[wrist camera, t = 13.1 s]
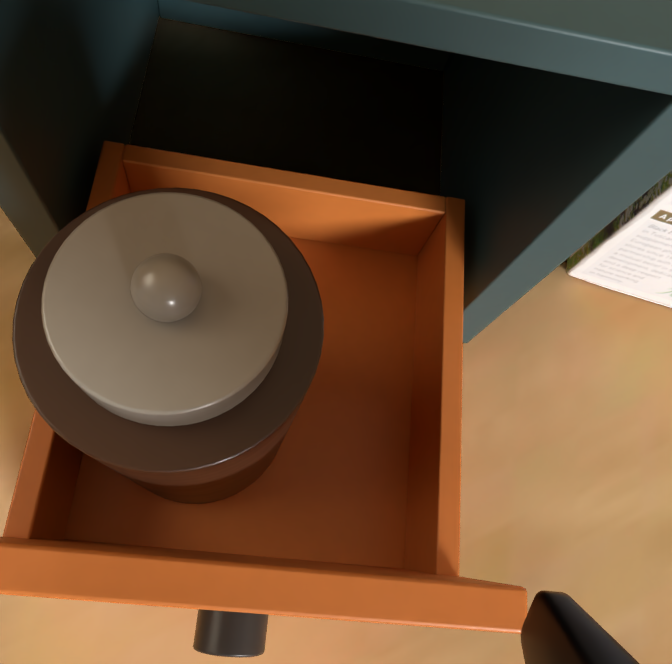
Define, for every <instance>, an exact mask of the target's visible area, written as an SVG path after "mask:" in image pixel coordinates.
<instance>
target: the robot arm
mask: <svg viewBox="0 0 672 664" xmlns="http://www.w3.org/2000/svg"><path fill="white" fill-rule="evenodd" d="M521 643H522V649H523V654H524V659H525V664H639V663H638V662H637V661H636V660H635V659H634V658H633V657H632V656H631V655H630V654H629V653H628V652H627V651H626V650H625V649H624V648H623V647H622V646H621V645H620V644H619V643H618V642H617V641H616V640H614V639H613V638H612V637H611V636H610V635H609V634H608V633H607V632H606V631H605V630H604V629H603V628H602V627H601V626H600V625H599V624H598V623H597V622H596V621H595V620H594V619H593V618H592V617H591V616H590V615H589V614H588V613H587V612H585V611H584V610H583V609H582V608H581V607H580V606H579V605H578V604H577V603H576V602H575V601H574V600H573V599H572V598H571V597H570V596H569V595H567V594H565V593H563V592H554V591H540V592H538V593H537V594H536V596H535V598H534V600H533V602H532V605H531V607H530V609H529V611H528V614H527V616H526V618H525V621H524V623H523V626H522V630H521Z"/></svg>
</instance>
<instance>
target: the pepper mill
mask: <svg viewBox="0 0 672 664" xmlns="http://www.w3.org/2000/svg"><path fill="white" fill-rule="evenodd" d="M323 339H324V315H323V307H322V300H321V297H320V293H319V289H318V286H317V283H316V280H315V278H314V276H313V273H312V271H311V268H310V267H309V265H308V263H307V262H306V260H305V258H304V256H303V255H302V253H301V252H300V250H299V249H298V248H297V247H296V245H295V244H294V243H293V241H292V240H291V239H290V238H289V237H288V236H287V235H286V234H285V233H284V232H283V231H282V230H281V229H280V228H279V227H278V226H277V225H276V224H274V223H273V222H272V221H271V220H269V219H268V218H267V217H265V216H264V215H263V214H261V213H259V212H258V211H256V210H254V209H253V208H251V207H249V206H247V205H245V204H243V203H241V202H239V201H236V200H234V199H232V198H229V197H226V196H223V195H220V194H216V193H213V192H208V191H203V190H198V189H188V188H156V189H149V190H141V191H137V192H133V193H129V194H125V195H121V196H118V197H116V198H113V199H110V200H108V201H105V202H103V203H101V204H99V205H97V206H95V207H93V208H91V209H89V210H87V211H86V212H84V213H83V214H81V215H80V216H78V217H77V218H75V219H74V220H72V221H71V222H69V223H68V224H67V225H66V226H65V227H64V228H63V229H61V230H60V231H59V232H58V233H57V234H56V235H55V236H54V237H53V238H52V239H51V240H50V241H49V242H48V244H47V245H46V246H45V247H44V248H43V249H42V251H41V252H40V254H39V255H38V257H37V258H36V259H35V261H34V262H33V264H32V265H31V267H30V269H29V271H28V273H27V275H26V277H25V279H24V281H23V284H22V287H21V290H20V293H19V296H18V299H17V302H16V307H15V313H14V318H13V336H12V341H13V350H14V358H15V363H16V366H17V370H18V374H19V377H20V380H21V382H22V385H23V387H24V389H25V391H26V394H27V396H28V398H29V399H30V401H31V402H32V404H33V405H34V407H35V409H36V410H37V412H38V413H39V415H40V416H41V417H42V418H43V419H44V420H45V421H46V423H47V424H48V425H49V426H50V427H51V428H52V429H53V430H54V431H55V432H56V433H57V434H58V435H60V436H61V437H62V438H63V439H64V440H66V441H67V442H68V443H69V444H71V445H72V446H74V447H76V448H77V449H79V450H80V451H82V452H84V453H85V454H87V455H88V456H90V457H92V458H94V459H95V460H97V461H99V462H100V463H102V464H104V465H106V466H107V467H109V468H111V469H112V470H114V471H116V472H118V473H119V474H121V475H123V476H124V477H126V478H128V479H130V480H131V481H133V482H135V483H136V484H138V485H140V486H142V487H143V488H145V489H147V490H148V491H150V492H152V493H154V494H156V495H158V496H160V497H162V498H165V499H168V500H171V501H175V502H180V503H187V504H202V503H211V502H215V501H219V500H223V499H225V498H228V497H230V496H233V495H235V494H237V493H239V492H240V491H242V490H244V489H246V488H247V487H248V486H250V485H251V484H252V483H254V482H255V481H256V480H257V479H258V478H259V477H260V476H261V475H262V474H263V473H264V472H265V470H266V469H267V468H268V467H269V465H270V464H271V462H272V460H273V459H274V457H275V456H276V454H277V452H278V450H279V448H280V446H281V444H282V442H283V440H284V438H285V436H286V434H287V432H288V430H289V428H290V426H291V424H292V421H293V419H294V417H295V415H296V413H297V411H298V409H299V407H300V405H301V403H302V401H303V399H304V397H305V395H306V393H307V391H308V389H309V387H310V385H311V383H312V380H313V378H314V376H315V374H316V371H317V367H318V364H319V360H320V357H321V353H322V346H323Z"/></svg>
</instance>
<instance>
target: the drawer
mask: <svg viewBox="0 0 672 664" xmlns="http://www.w3.org/2000/svg"><path fill="white" fill-rule="evenodd" d="M156 188H188V189H198V190H203V191H208V192H213V193H216V194H220V195H223V196H226V197H229V198H232V199H234V200H236V201H239V202H241V203H243V204H245V205H247V206H249V207H251V208H253V209H254V210H256V211H258V212H259V213H261V214H263V215H264V216H265V217H267V218H268V219H269V220H271V221H272V222H273V223H274V224H276V225H277V226H278V227H279V228H280V229H281V230H282V231H283V232H284V233H285V234H286V235H287V236H288V237H289V238H290V239H291V240H292V241H293V243H294V244H295V245H296V247H297V248H298V249H299V250H300V252H301V253H302V255H303V256H304V258H305V260H306V262H307V263H308V265H309V267H310V268H311V271H312V273H313V276H314V278H315V280H316V283H317V286H318V289H319V293H320V297H321V300H322V307H323V315H324V339H323V346H322V353H321V357H320V360H319V364H318V367H317V371H316V374H315V376H314V378H313V380H312V383H311V385H310V387H309V389H308V391H307V393H306V395H305V397H304V399H303V401H302V403H301V405H300V407H299V409H298V411H297V413H296V415H295V417H294V419H293V421H292V424H291V426H290V428H289V430H288V432H287V434H286V436H285V438H284V440H283V442H282V444H281V446H280V448H279V450H278V452H277V454H276V456H275V457H274V459H273V460H272V462H271V464H270V465H269V467H268V468H267V469H266V470H265V472H264V473H263V474H262V475H261V476H260V477H259V478H258V479H257V480H256V481H255V482H254V483H252V484H251V485H250V486H248V487H247V488H246V489H244V490H242V491H240V492H239V493H237V494H235V495H233V496H230V497H228V498H225V499H223V500H219V501H215V502H211V503H202V504H187V503H180V502H175V501H171V500H168V499H165V498H162V497H160V496H158V495H156V494H154V493H152V492H150V491H148V490H147V489H145V488H143V487H142V486H140V485H138V484H136V483H135V482H133V481H131V480H130V479H128V478H126V477H124V476H123V475H121V474H119V473H118V472H116V471H114V470H112V469H111V468H109V467H107V466H106V465H104V464H102V463H100V462H99V461H97V460H95V459H94V458H92V457H90V456H88V455H87V454H85V453H84V452H82V451H80V450H79V449H77V448H76V447H74V446H72V445H71V444H69V443H68V442H67V441H66V440H64V439H63V438H62V437H61V436H60V435H58V434H57V433H56V432H55V431H54V430H53V429H52V428H51V427H50V426H49V425H48V424H47V423H46V421H45V420H44V419H43V418H42V417H41V416H40V415H39V413H38V412H37V410H36V409H35V412H34V416H33V420H32V423H31V427H30V431H29V435H28V439H27V443H26V447H25V451H24V455H23V459H22V463H21V467H20V470H19V474H18V478H17V482H16V486H15V490H14V494H13V498H12V502H11V506H10V510H9V513H8V517H7V521H6V525H5V529H4V533H3V537H0V594H6V595H19V596H33V597H46V598H59V599H72V600H85V601H98V602H111V603H124V604H137V605H151V606H164V607H177V608H190V609H199V610H198V617H197V624H196V630H195V637H194V644H193V647H194V649H195V650H196V651H198V652H201V653H205V654H209V655H215V656H224V657H254V656H259V655H261V654H263V653H264V649H265V640H266V631H267V622H268V614H269V615H282V616H295V617H308V618H321V619H334V620H347V621H360V622H373V623H387V624H400V625H413V626H426V627H439V628H452V629H465V630H478V631H491V632H505V633H518V634H521V630H522V626H523V623H524V621H525V618H526V616H527V591H526V589H525V588H523V587H521V586H514V585H508V584H502V583H496V582H490V581H483V580H477V579H471V578H465V577H459V547H460V484H461V422H462V359H463V296H464V233H465V200H464V199H459V198H453V197H446V198H445V197H444V196H439V195H433V194H427V193H421V192H414V191H408V190H402V189H396V188H390V187H384V186H378V185H372V184H366V183H360V182H354V181H348V180H342V179H336V178H330V177H324V176H318V175H312V174H306V173H299V172H293V171H287V170H281V169H275V168H269V167H263V166H257V165H251V164H245V163H239V162H233V161H227V160H221V159H215V158H209V157H203V156H197V155H191V154H184V153H178V152H172V151H166V150H160V149H154V148H148V147H142V146H136V145H130V144H126V146H125V145H124V144H123V143H118V142H112V141H104V142H103V146H102V149H101V153H100V157H99V161H98V165H97V169H96V173H95V177H94V181H93V185H92V189H91V193H90V196H89V200H88V204H87V208H86V211H87V210H89V209H91V208H93V207H95V206H97V205H99V204H101V203H103V202H105V201H108V200H110V199H113V198H116V197H118V196H121V195H125V194H129V193H133V192H137V191H141V190H149V189H156Z"/></svg>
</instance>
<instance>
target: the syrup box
mask: <svg viewBox="0 0 672 664" xmlns="http://www.w3.org/2000/svg"><path fill="white" fill-rule="evenodd" d="M566 272H567V273H568V275H570V276H573V277H576V278H579V279H582V280H585V281H587V282H590V283H593V284H596V285H599V286H602V287H605V288H608V289H611V290H614V291H618V292H621V293H624V294H628V295H631V296H634V297H638V298H641V299H644V300H647V301H651V302H654V303H657V304H661V305H664V306H667V307H671V308H672V170H671V171H670V172H669V173H668V174H667V175H666V176H664V177H663V178H662V179H661V180H660V181H658V182H657V183H656V184H655V185H654V186H652V187H651V188H650V189H649V190H648V191H647V192H645V193H644V194H643V195H642V196H641V197H639V198H638V199H637V200H636V201H635V202H634V203H632V204H631V205H630V206H629V207H628V208H626V209H625V210H624V211H623V212H622V213H620V214H619V215H618V216H617V217H616V218H615V219H613V220H612V221H611V222H610V223H609V224H607V225H606V226H605V227H604V228H603V229H602V230H600V231H599V232H598V233H597V234H596V235H594V236H593V237H592V238H591V239H590V240H588V241H587V242H586V243H585V244H584V245H583V246H581V247H580V248H579V249H578V250H577V251H575V252H574V253H573V254H572V255H571V256H570V257H568V259H567V269H566Z"/></svg>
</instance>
